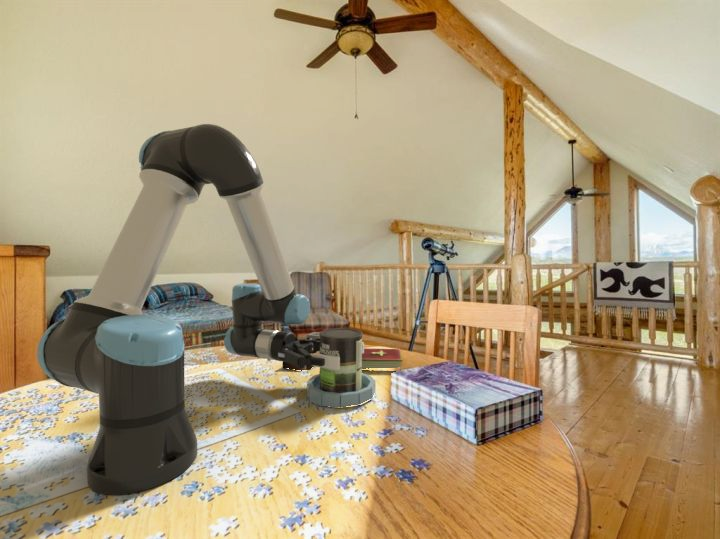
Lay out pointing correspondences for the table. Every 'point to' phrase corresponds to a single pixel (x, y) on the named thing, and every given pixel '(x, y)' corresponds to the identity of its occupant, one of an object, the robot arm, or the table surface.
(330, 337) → the coffee can
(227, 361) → the table surface
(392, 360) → the hardcover book
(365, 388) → the bowl
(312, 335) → the dice cube
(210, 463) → the table surface
